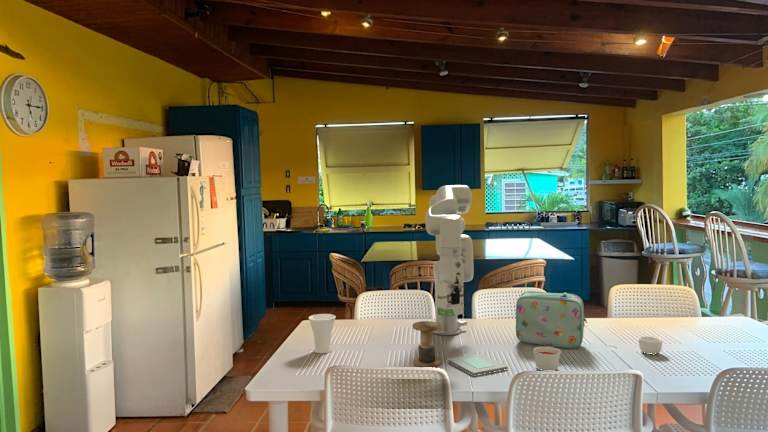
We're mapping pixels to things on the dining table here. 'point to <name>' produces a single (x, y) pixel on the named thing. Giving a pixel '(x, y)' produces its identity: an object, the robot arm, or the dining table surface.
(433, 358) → the bobbin
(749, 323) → the dining table surface
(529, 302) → the lunch box
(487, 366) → the board
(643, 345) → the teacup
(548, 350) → the candle
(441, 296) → the ink box
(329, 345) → the cup
